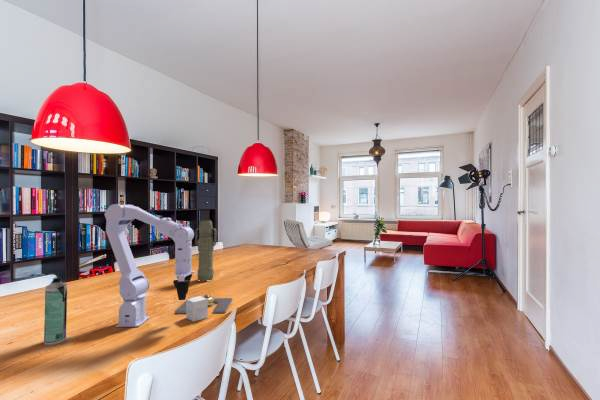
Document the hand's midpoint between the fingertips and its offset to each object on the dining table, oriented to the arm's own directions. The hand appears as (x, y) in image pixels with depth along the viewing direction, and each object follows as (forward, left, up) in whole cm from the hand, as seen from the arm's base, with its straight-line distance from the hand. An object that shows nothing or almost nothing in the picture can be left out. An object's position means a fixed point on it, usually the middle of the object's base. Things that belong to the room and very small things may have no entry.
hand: (183, 296), depth 114 cm
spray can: (-14, +35, -10) cm, 39 cm away
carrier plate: (+19, -4, -10) cm, 21 cm away
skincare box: (+5, -4, -10) cm, 12 cm away
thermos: (+67, +8, -10) cm, 69 cm away
